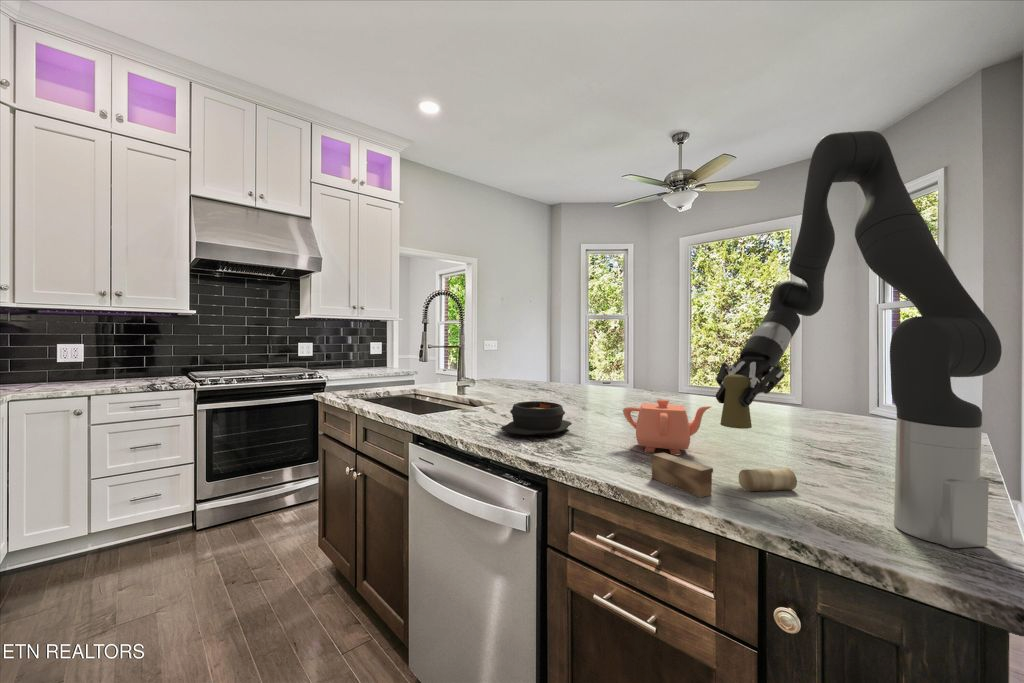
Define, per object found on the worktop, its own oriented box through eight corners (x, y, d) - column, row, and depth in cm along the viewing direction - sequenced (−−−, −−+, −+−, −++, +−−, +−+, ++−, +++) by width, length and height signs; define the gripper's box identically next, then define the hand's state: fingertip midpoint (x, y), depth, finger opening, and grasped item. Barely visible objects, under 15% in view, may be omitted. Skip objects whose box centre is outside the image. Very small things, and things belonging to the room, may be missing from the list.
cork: (756, 429, 89) (756, 376, 89) (724, 427, 90) (725, 375, 90) (746, 423, 95) (747, 374, 95) (717, 422, 96) (717, 373, 96)
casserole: (540, 421, 147) (541, 397, 147) (585, 430, 134) (586, 404, 134) (486, 433, 129) (487, 405, 129) (532, 444, 116) (533, 413, 116)
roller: (800, 485, 82) (787, 492, 85) (790, 465, 85) (778, 473, 88) (755, 486, 81) (744, 494, 84) (746, 466, 83) (735, 474, 86)
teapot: (619, 446, 116) (620, 397, 116) (659, 439, 124) (660, 394, 124) (670, 462, 102) (671, 407, 101) (711, 453, 110) (712, 402, 109)
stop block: (712, 494, 81) (713, 468, 81) (700, 497, 79) (701, 470, 79) (663, 475, 91) (663, 452, 91) (651, 478, 90) (652, 454, 90)
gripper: (729, 334, 102) (694, 387, 97) (791, 334, 89) (755, 394, 84) (743, 356, 105) (709, 409, 99) (806, 359, 92) (771, 419, 86)
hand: (730, 402), depth 92 cm, fingers closed on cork, 5 cm apart
